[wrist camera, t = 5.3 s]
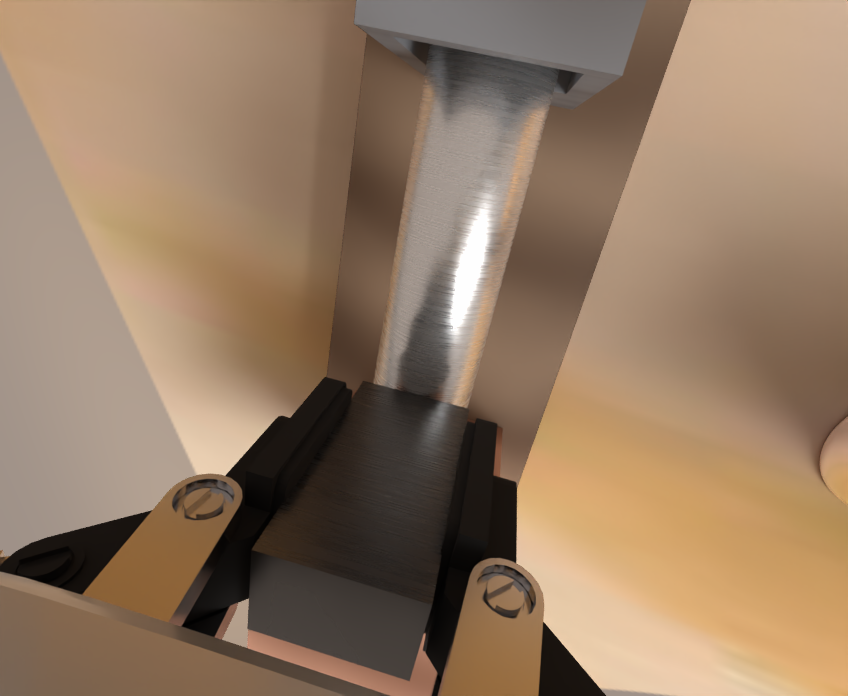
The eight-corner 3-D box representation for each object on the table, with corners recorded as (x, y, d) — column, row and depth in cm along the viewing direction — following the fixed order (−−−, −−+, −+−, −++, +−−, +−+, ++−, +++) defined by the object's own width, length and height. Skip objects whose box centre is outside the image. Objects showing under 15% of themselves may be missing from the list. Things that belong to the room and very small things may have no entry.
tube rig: (417, -264, 14) (182, -1212, 4) (756, -218, 13) (1449, -1279, 3) (327, 447, 26) (205, 638, 16) (507, 497, 25) (498, 734, 15)
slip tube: (484, -196, 10) (353, -1553, 2) (623, -176, 10) (1099, -1635, 2) (365, 478, 18) (241, 747, 10) (440, 499, 18) (376, 794, 10)
